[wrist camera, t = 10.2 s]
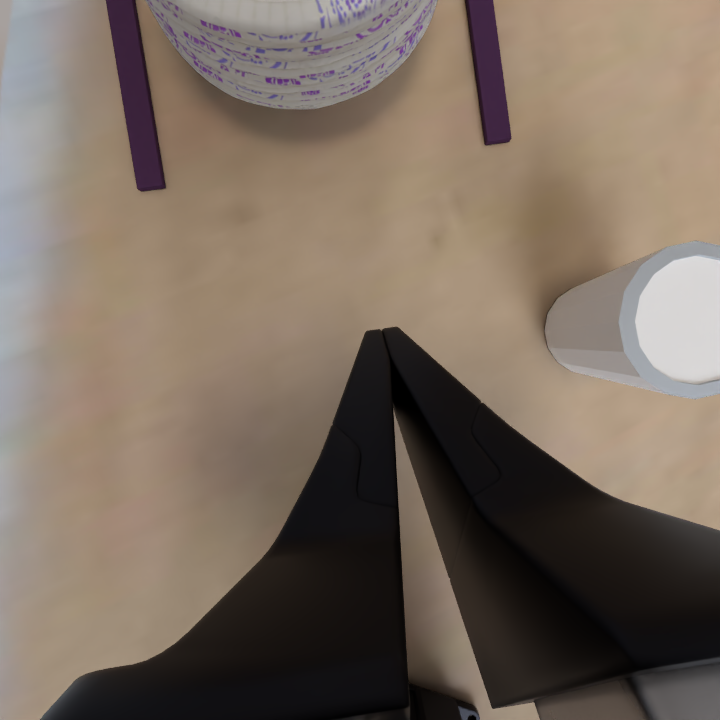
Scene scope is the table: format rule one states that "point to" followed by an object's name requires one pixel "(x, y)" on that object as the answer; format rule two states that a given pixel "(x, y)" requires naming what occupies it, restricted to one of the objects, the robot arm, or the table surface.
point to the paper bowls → (294, 45)
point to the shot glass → (646, 323)
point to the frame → (142, 110)
